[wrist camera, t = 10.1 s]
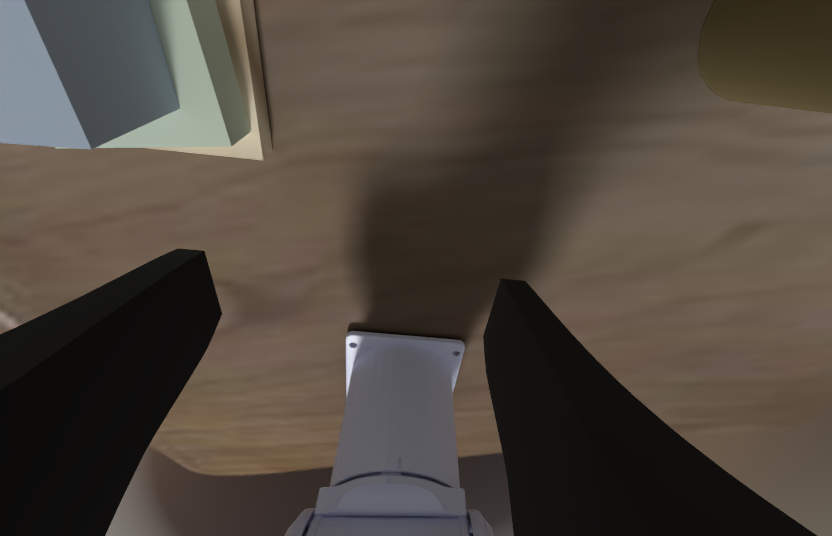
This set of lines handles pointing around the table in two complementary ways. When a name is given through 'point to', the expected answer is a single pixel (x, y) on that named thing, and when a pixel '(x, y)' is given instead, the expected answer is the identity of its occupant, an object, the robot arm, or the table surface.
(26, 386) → the robot arm
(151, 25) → the blue cube
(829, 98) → the olive tall rounded piece
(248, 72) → the birch slab
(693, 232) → the table surface
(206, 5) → the green block
